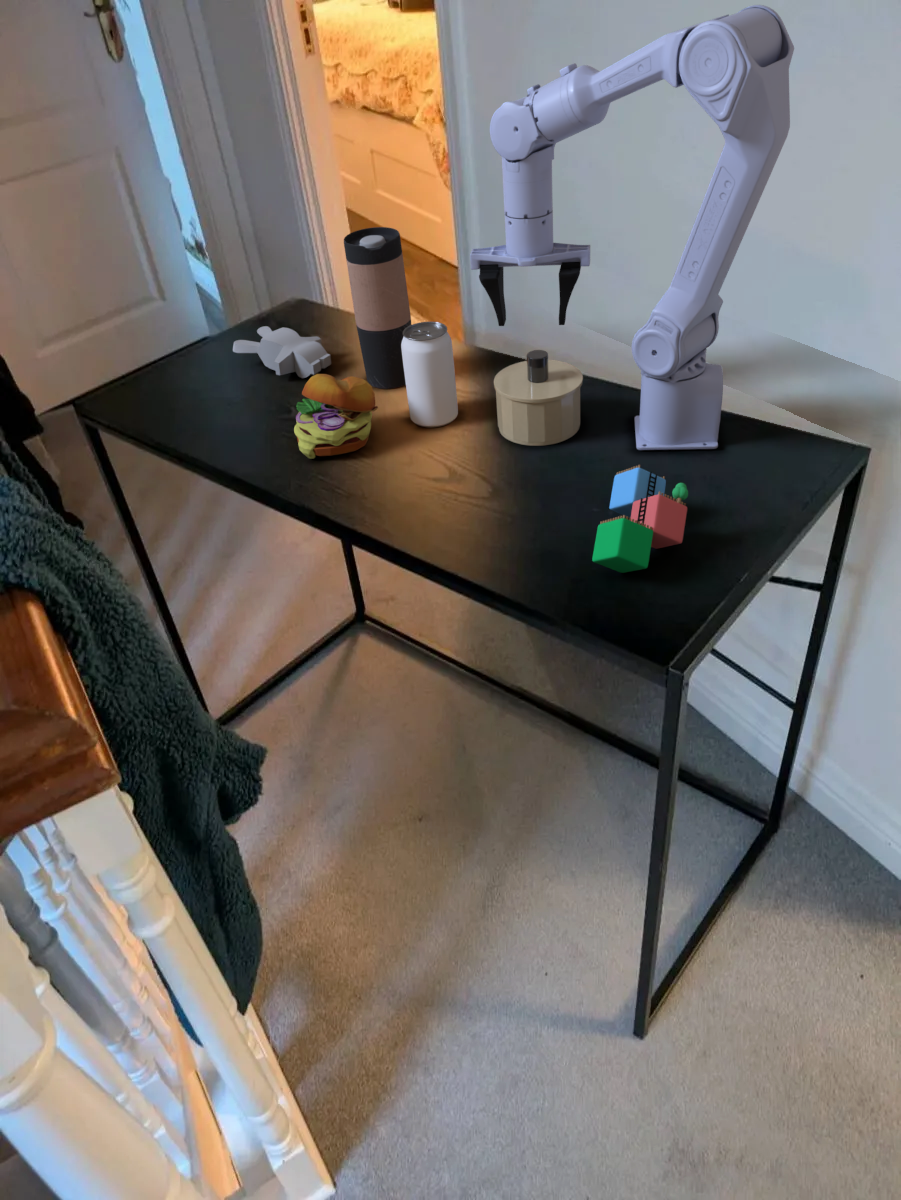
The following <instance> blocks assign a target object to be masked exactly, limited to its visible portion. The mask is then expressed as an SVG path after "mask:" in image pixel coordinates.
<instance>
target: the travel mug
mask: <svg viewBox="0 0 901 1200" xmlns="http://www.w3.org/2000/svg"><path fill="white" fill-rule="evenodd" d="M343 247H344V253H345V259H346V267H347V274H348V280H349V288H350V293H351V299H352V300H351V301H352V307H353V312H354V313H353V314H354V319H355V320H354V321H355V325H356V331H357V336H358V341H359V346H360V352H361V356H362V361H363V362H362V363H363V366H364V372H365V376H366V377H365V378H366V381H367V382H368V383H369V384H370V385H371V386H372V388H373V387H374V388H376V389H380V390H381V389H383V390H388V389H389V390H390V389H397V388H401V387H404V386H406V382H405V374H404V367H403V359H402V350H401V343H402V339H403V337H404V336H403V331H404V329H405V328H407V327H408V326H410V325H412V315H411V309H410V300H409V293H408V286H407V279H406V278H407V277H406V269H405V264H404V263H405V262H404V254H403V248H402V240H401V234H400V231H399V230H398V229H396V228H393V227H387V226H376V227H375V226H373V227H366V228H361V229H358V230H354V231H352V232H350V233H349V234H347V235H346V236H345V237H344V238H343Z"/></svg>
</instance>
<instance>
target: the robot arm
mask: <svg viewBox="0 0 901 1200" xmlns="http://www.w3.org/2000/svg"><path fill="white" fill-rule="evenodd" d="M794 52H795V46H794V43H793V41H792V39H791V37H790V35H789V33H788V29H787V28H786V25H785V23H784V22H783V19H782V18H781V16H780V15H779V13H778V12H776V11H775V9H773V8H771V7H769V6H767V5H764V4H752V5H749V6H747V7H744V8H742V9H741V10H739V11H738V12H735V13H733V14H731V15H730V14H725V15H721V16H718V17H715V18H712V19H708V20H704V21H702V22H699V23H696V24H695V23H694V24H692V25H688V26H686V27H682V28H679V29H677V30H674V31H671V32H669V33H666V34H663V35H661V36H660V37H658V38H656V39H654V40H652V41H651V42H649V43H648V44H646V45H644V46H642V47H640V48H639V49H636V50H635V51H633V52H632V53H630V54H628V55H626V56H624V57H623V58H621V59H620V60H618V61H616V62H614V63H612V64H610V65H609V66H607V67H605V68H603V69H601V70H598V69H597V68H595V67H593V66H591V65H587V64H583V65H580V66H577V63H574V62H573V63H571V64H568V65H566V66H564V67H562V68H561V69H559V75H560V76H559V77H557V78H555V79H553V80H552V81H549V82H547V83H546V84H544V85H542V86H541V84H539V83H537V84H534V85H532V86H530V87H529V88H527V90H526V93H527V95H526V96H524V97H521V98H517V99H515V100H508V101H505V102H503V103H502V104H501V105H500V107H498V108H497V109H496V110H495V111H494V112H493V114H492V116H491V118H490V122H489V137H490V141H491V143H492V146H493V148H494V150H495V152H496V153H497V154H498V155H499V156H500V157H501V171H502V172H501V173H502V187H503V188H502V192H503V193H502V195H503V210H504V211H503V212H504V231H505V234H504V235H505V244H502V245H496V246H495V245H494V246H487V247H480V248H479V247H478V248H471V251H470V253H469V261H470V270H472V271H473V270H476V271H477V270H479V275H478V279H479V282H480V284H481V285H482V287H483V288H484V290H485V292H486V294H487V296H488V297H489V300H490V302H491V304H492V306H493V310H494V312H495V316H496V319H497V323H498V327H505V326H506V325H505V324H506V321H507V310H506V309H507V308H506V301H505V292H504V291H505V287H504V286H505V285H504V284H505V283H504V268H505V267H506V268H509V267H513V268H514V267H542V266H543V267H546V266H560V267H559V271H558V288H559V289H558V290H559V308H558V309H559V310H558V326H565V325H566V319H567V318H566V317H567V310H568V305H569V302H570V299H571V296H572V293H573V291H574V289H575V287H576V284H577V282H578V280H579V277H580V276H581V270H582V267H590V265H591V244H572V243H562V242H554V210H553V208H554V207H553V204H554V203H553V160H555V147H556V144H557V143H559V142H562V141H564V140H566V139H568V138H571V137H572V136H574V135H577V134H579V133H581V132H584V131H586V130H588V129H590V128H592V127H594V126H596V125H598V124H601V123H602V121H604V120H605V118H606V116H607V114H608V111H609V109H610V105H611V103H613V102H616V101H617V100H620V99H622V98H624V97H626V96H629V95H631V94H634V93H636V92H638V91H640V90H642V89H645V88H647V87H649V86H651V85H654V84H656V83H658V82H660V81H663V80H665V82H667V83H668V84H669V85H670V86H671V87H673V88H675V89H676V88H677V89H678V88H680V87H682V86H683V87H684V88H685V89H686V90H687V92H688V93H689V95H690V96H691V97H692V98H693V100H695V102H697V103H698V105H699V106H700V108H701V109H703V111H704V112H705V113H706V114H707V116H709V117H710V119H712V121H713V122H714V123H715V124H716V125H717V126H718V128H719V131H720V132H721V135H722V136H723V139H724V145H723V148H722V150H721V153H720V155H719V158H718V161H717V163H716V166H715V168H714V171H713V174H712V176H711V179H710V181H709V184H708V187H707V189H706V192H705V194H704V197H703V199H702V202H701V204H700V207H699V209H698V211H697V215H696V218H695V220H694V223H693V226H692V228H691V230H690V233H689V236H688V238H687V240H686V243H685V246H684V249H683V251H682V254H681V257H680V259H679V262H678V264H677V266H676V269H675V271H674V275H673V278H672V280H671V283H670V285H669V287H668V289H666V291H665V293H664V294H663V295H662V296H661V298H660V299H659V300H658V302H657V304H656V305H655V306H654V307H653V309H652V311H651V313H650V315H649V318H648V320H647V321H646V323H645V324H644V325H643V326H641V327H640V328H639V329H638V330H637V331H636V332H635V334H634V335H633V338H632V341H631V354H632V359H633V360H634V363H635V364H636V366H637V367H638V368H639V370H640V375H641V381H640V399H639V415H635V416H634V431H635V432H634V434H635V448H636V450H638V451H669V450H671V451H675V450H676V451H678V450H717V449H718V447H719V443H718V441H719V432H720V424H721V416H722V415H721V414H722V407H723V406H722V405H723V394H724V373H723V367H722V365H721V364H719V363H718V364H717V363H709V362H707V359H706V357H707V349H708V348H710V347H711V346H712V345H713V343H714V342H715V341H716V339H717V337H718V334H719V331H720V330H719V329H720V323H719V322H720V321H719V315H720V310H721V308H722V306H723V303H724V300H723V298H722V297H721V296H720V295H719V294H720V292H721V289H722V287H723V285H724V283H725V280H726V278H727V275H728V273H729V271H730V269H731V266H732V264H733V261H734V259H735V258H736V255H737V253H738V250H739V248H740V246H741V244H742V241H743V239H744V236H745V235H746V232H747V230H748V227H749V225H750V222H751V220H752V218H753V215H754V214H755V211H756V210H757V207H758V205H759V202H760V200H761V198H762V195H763V194H764V191H765V189H766V186H767V183H768V181H769V179H770V177H771V174H772V172H773V170H774V168H775V165H776V163H777V161H778V158H779V156H780V154H781V151H782V149H783V147H784V145H785V142H786V140H787V138H788V135H789V131H790V128H791V111H790V110H791V109H790V106H791V105H790V65H791V62H792V59H793V55H794Z"/></svg>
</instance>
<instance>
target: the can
mask: <svg viewBox="0 0 901 1200" xmlns="http://www.w3.org/2000/svg"><path fill="white" fill-rule="evenodd" d="M403 336H404V337H403V339H402V343H401V350H402V359H403V367H404V374H405V382H406V385H405V389H406V397H407V403H408V411H409V417H410V420H411V421H412V423H414V424H416V426H419V427H423V428H440V427H443V426H447V425H449V424H451V423H452V422H454V421H455V420H456V418H457V417H458V415H459V405H458V394H457V381H456V370H455V359H454V350H453V341H452V337H451V335H450V334H449V332H448V327H447V325H446V324H444V323H442V322H439V321H421V322H416V323H413V324H411V325H410V326H408V327H407V328H405V329H404V331H403Z"/></svg>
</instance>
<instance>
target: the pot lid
mask: <svg viewBox="0 0 901 1200" xmlns="http://www.w3.org/2000/svg"><path fill="white" fill-rule="evenodd" d="M583 383H584V376H583V373H582V370H580V369H579V368H578V367H576V366H575V365H573V364H571V363H568V362H565V361H562V360H557V359H549V353H548V351H546V350H543V349H534V350H531V351H528V352H527V354H526V360H524V361H520V362H519V361H518V362H515V363H513V364H509V365H508V366H506V367H504V368H501V370H499V371H498V372H497V373H496V375H495V376H494V379H493V388H494V390H495V392H496V391H497V393H499V394H500V395H501V396H503V397H505V398H507V399H510V400H513V401H518V402H526V403H542V402H550V401H555V400H559V399H562V398H565V397H567V396H570V395H572V394H573V393H575V392H576V391H577V390H578V389H579V388H580V389H581V387H582V385H583Z"/></svg>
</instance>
